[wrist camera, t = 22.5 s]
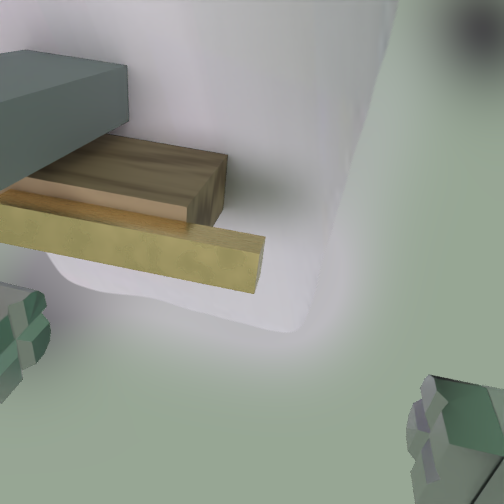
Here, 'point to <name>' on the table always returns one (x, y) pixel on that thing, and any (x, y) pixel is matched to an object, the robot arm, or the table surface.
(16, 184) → the walnut block
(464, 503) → the robot arm
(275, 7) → the table surface
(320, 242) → the table surface
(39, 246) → the olive wooden beam
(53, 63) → the blue-gray rectangular block
